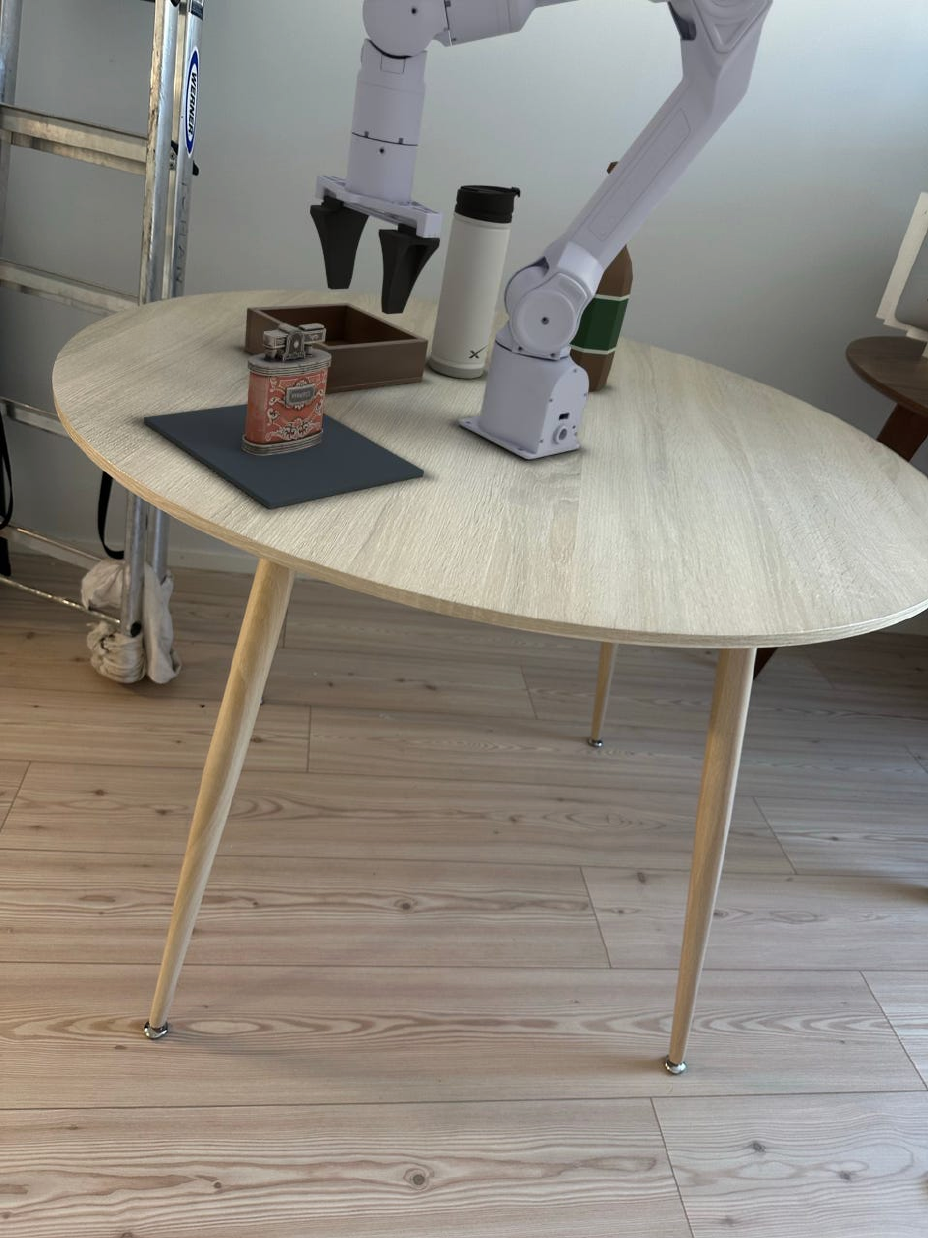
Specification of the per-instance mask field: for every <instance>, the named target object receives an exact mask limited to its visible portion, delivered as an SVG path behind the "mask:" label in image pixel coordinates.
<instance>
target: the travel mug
mask: <svg viewBox="0 0 928 1238" xmlns="http://www.w3.org/2000/svg"><path fill="white" fill-rule="evenodd" d="M516 196H517V198H521V189H520V188H519V187H517V186H511V187H505V186H497V185H485V184H484V185H483V184H468V185H467V184H466V185H461V186H460V188H458V189H457V192H456V198H455V201H456V203H455V205H454V210H453V218H452V221H451V226H450V231H449V239H448V244H447V249H446V250H447V251H446V255H445V256H446V257H445V262H444V268H443V273H442V274H443V275H442V281H441V288H440V292H439V299H438V305H437V311H436V312H437V313H436V318H435V324H434V329H433V337H432V344H431V349H430V350H431V351H430V354H429V361H428V364H429V367H430V368H431V369H432V370H433V371H435V372H437V373H439V374H441V375H444V376H448V377H450V378H456V379H464V380H466V379H467V380H468V379H469V380H470V379H471V380H472V379H478V378H479V377H481V376H482V375H483V373H484V369H485V366H486V365H485V364H486V362H485V361H486V359H487V355H488V348H489V343H490V338H491V333H492V328H493V322H494V318H495V312H496V308H497V302H498V297H499V291H500V286H501V280H502V275H503V271H504V266H505V261H506V255H507V250H508V244H509V239H510V234H511V227H512V224H513V222H512V221H513V213H514V212H515V197H516Z"/></svg>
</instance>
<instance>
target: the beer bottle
mask: <svg viewBox="0 0 928 1238" xmlns="http://www.w3.org/2000/svg"><path fill="white" fill-rule="evenodd" d="M618 162H619V160H618V161H617V160H616V161H611V162H610V163H609V165H608V167H607V169H606V172H607V174H608V175H609V174H610V172H611V171H612V170H613V168H614V167H615V166H616V165H617V163H618ZM633 273H634V272H633V261H632V259H631V256H630V253H629V249H628V242H627V243H626V245H625V246H624V247H623V248H622V250H621V251H620V252H619V253H618V255H617V256H616V257H615V258H614V260H613V261H612V262H611V263H610V264H609V266H608V267H607V268H606V269H605V271H604V273H603V275H602V277H601V280H600V283H599V285H598V288H597V290H596V293H595V295H594V297H593V298H592V300H591V301H590V302H589V303H588V305H587V306H586V308H585V309H584V311H583V313H582V315H581V319H580V323H579V327H578V330H577V333H576V335H575V336H574V338H573V340H572V341H571V342H570V343H569V344H570V347H571V350H570V354H569V355H570V357H571V359H572V360H573V361H574V363H575V364H577V365H578V366H580V367H581V368H583V369H584V370H585V371H586V373H587V375H588V379H589V390H588V392H596V391H599V390H601V389H602V388H604V387H605V386H606V384H607V382H608V378H609V376H610V372H611V369H612V365H613V362H614V358H615V354H616V350H617V345H618V342H619V338H620V334H621V331H622V326H623V323H624V319H625V315H626V312H627V308H628V303H629V299H630V296H631V291H632V286H633V280H634V274H633Z"/></svg>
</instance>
